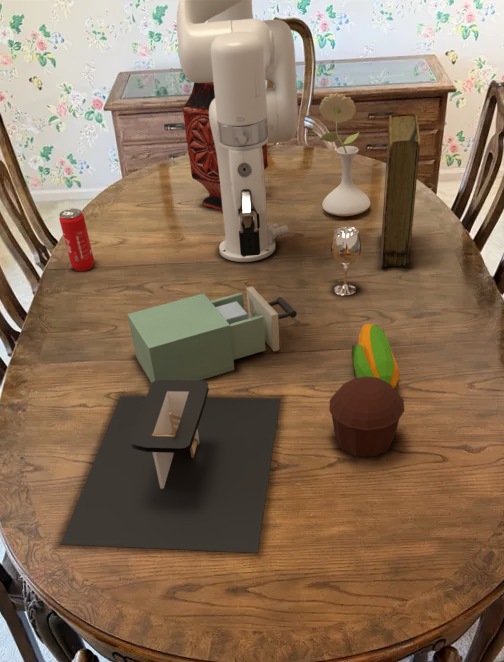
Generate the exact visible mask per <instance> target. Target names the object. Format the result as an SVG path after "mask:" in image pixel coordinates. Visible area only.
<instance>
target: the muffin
mask: <svg viewBox="0 0 504 662" xmlns="http://www.w3.org/2000/svg"><path fill="white" fill-rule="evenodd" d="M404 412H405V402H404V399H403V398H402V396H401V395H400V393H398V391H396V390H395V389H394V388H393V387H392V386H391V385H390V384H389V383H388V382H386V381H383V380H381V379H379V378H376V377H369V376H365V377H358V378H356V377H354V378H352V379H350V380H349V381H347V382H345V383H343V384H342V385H341V386H340V387H339V388H338V390H336V392H335V393H333V395H332V397H331V398H330V399H329V413H330V414H331V419H332V424H333V429H334V436H335V440H336V441H337V443H338V444H339V447H340V450H341V451H344V452H346V453H349V454H351V455H353V456H354V457H357V458H358V457H372V458H375V457H376V456H378V455H380V454H382V453H384V452H385V453H386V452H387V451H389V450H390V448H391V447H390V446H391V444H392V443H393V441H394V438H395V435H396V432H397V429H398V425H399V422H400V418H401V417H402V415H403V414H404Z"/></svg>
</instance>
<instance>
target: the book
mask: <svg viewBox="0 0 504 662" xmlns="http://www.w3.org/2000/svg"><path fill="white" fill-rule="evenodd" d="M418 116H419V115H418V114H416V113H409V112H405V113H404V112H401V113H399V112H398V113H393V114H390V115H388V129H387V131H388V132H387V144H386V145H387V147H386V159H385V160H386V163H385V164H386V165H385V176H384V177H385V178H384V190H383V191H384V192H383V193H384V194H383V207H382V224H381V240H380V241H381V268H382V269H384V268H388V267H394V266H395V267H403V268H409V265H410V256H411V245H412V236H413V235H412V234H413V226H414V225H413V224H414V214H415V213H414V212H415V204H416V194H417V192H416V191H417V183H418V182H417V181H418V171H419V160H420V149H421V136H420V134H421V133H420V126H419V125H420V124H419V117H418Z"/></svg>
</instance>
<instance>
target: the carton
mask: <svg viewBox="0 0 504 662" xmlns="http://www.w3.org/2000/svg"><path fill="white" fill-rule="evenodd" d="M216 309H217V310H218V311H219V312H220V313H221V315H222V316H223V317H224V318H225V320H226V321H227V322H228V323H229V324H232V323H235V322H239V321H242V320H246V319H249V315H248V312H247V311H246V310H245V308H244V309H243V308H242V307H241V306H240V305H239V303H238V302H237V301H236V302H232V303H229V304H225V305H222V306H218V307H216Z"/></svg>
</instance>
